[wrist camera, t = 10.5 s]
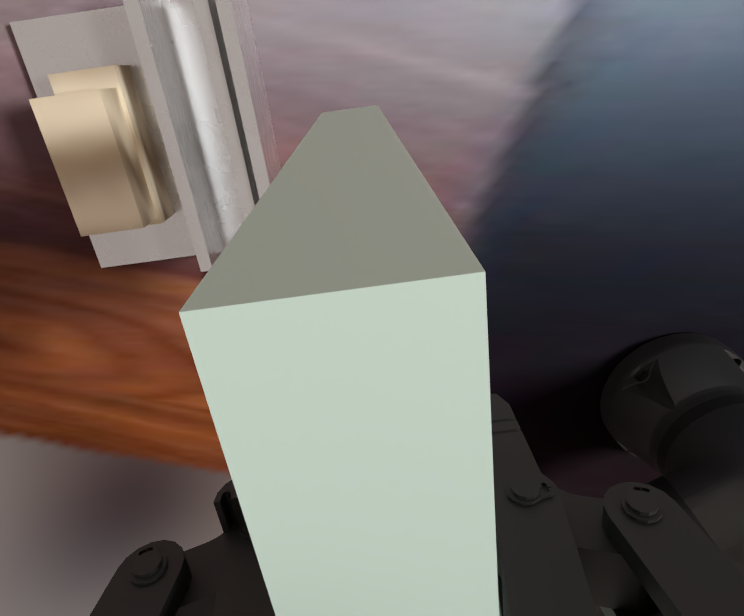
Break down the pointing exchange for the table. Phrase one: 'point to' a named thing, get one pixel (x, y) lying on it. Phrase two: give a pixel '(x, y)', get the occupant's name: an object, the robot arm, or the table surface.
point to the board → (354, 383)
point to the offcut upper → (95, 160)
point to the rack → (175, 112)
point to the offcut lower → (135, 117)
